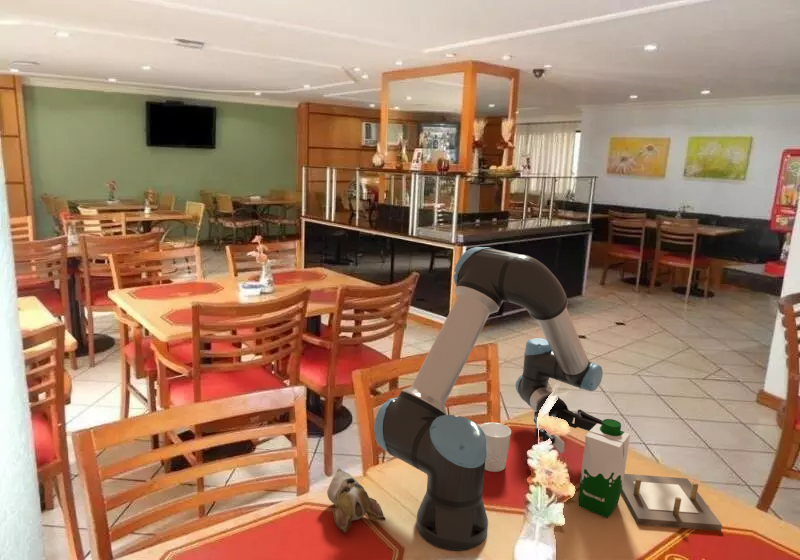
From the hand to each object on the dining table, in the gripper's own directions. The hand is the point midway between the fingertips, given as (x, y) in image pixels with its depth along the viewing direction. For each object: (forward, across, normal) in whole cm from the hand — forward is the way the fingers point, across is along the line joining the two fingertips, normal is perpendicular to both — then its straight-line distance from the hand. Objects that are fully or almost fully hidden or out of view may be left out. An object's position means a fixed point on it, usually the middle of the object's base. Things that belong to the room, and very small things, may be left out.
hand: (589, 446), depth 137 cm
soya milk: (+7, 0, -11) cm, 13 cm away
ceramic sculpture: (+3, +57, -11) cm, 58 cm away
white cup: (-12, +19, -11) cm, 25 cm away
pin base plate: (+9, -16, -11) cm, 21 cm away
